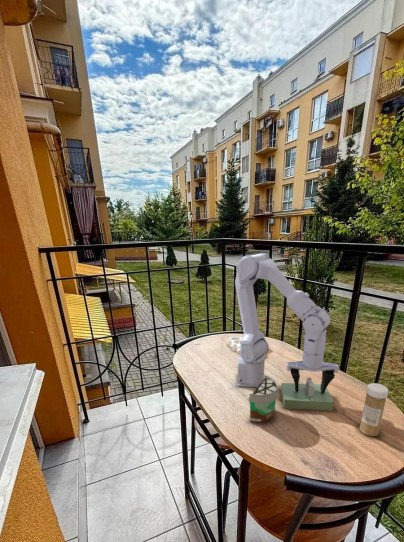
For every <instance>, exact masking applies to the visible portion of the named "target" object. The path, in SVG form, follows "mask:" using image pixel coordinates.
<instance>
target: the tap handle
mask: <svg viewBox="0 0 404 542" xmlns="http://www.w3.org/2000/svg"><path fill="white" fill-rule="evenodd" d="M305 384H306V390H307V394H308V396H310V397H313V394H314V384H315V383H314V382H313V380H312V377H310V376H309V377H306V379H305Z"/></svg>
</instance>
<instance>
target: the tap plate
mask: <svg viewBox="0 0 404 542" xmlns="http://www.w3.org/2000/svg"><path fill="white" fill-rule="evenodd" d="M313 384H314V394H313V397H310V396H308V394H307V390H306V383H299V388H298V392H296V391H295V383H294V382H280V396H281V400H282V405H283V408H284V409H294V410H307V411H308V410H309V411H326V412H327V411H328V412H333V411H334V405H335V402H334V399H333V397H332V395H331V394H330V391H329V389H328V387H327V388H326V390H325V393H322V392H321V384H315V383H313Z"/></svg>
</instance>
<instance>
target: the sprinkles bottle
mask: <svg viewBox="0 0 404 542" xmlns="http://www.w3.org/2000/svg"><path fill="white" fill-rule="evenodd" d="M365 392H366V393H365V394H366V395H365V400H364V404H363V410H362V414H361V422H360V425H359V430H360V431H361V432H362V434H364V435H366V436H370V437H376V436H378V435H379V434H380V429H381V425H382V421H383V416H384V409H385V406H386V401H387V397H388V395H389V388H388V387H387V386H385V385H384V384H380V383H375V382H372V383H368V384H367V386H366V390H365Z"/></svg>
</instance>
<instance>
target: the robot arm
mask: <svg viewBox="0 0 404 542" xmlns="http://www.w3.org/2000/svg"><path fill="white" fill-rule="evenodd" d="M235 267H236V277H235V280H234V285H235V291H236V296H237V302H238V308H239V314H240V320H241V326H242V331H243V335H242V339H241V342H240V344H241V348H240V354H239V355H240V357H238V358H237V372H236V379H237V386H238V387H245V388H246V387H247V388H257V387H258V385H259V384H260V383H261V382H262V381H263V380H264V376H265V362H266V358H265V357H266V353H268V351H269V349H270V347H269V342H268V341H267V340H266V336H265V334H264V333H263V332H262V331H261V329H260V324H259V323H260V322H259V316H258V311H257V305H256V299H255V293H254V291H255V290H254V284H255V283H256V282H257V280H258V279H259V280H267V281H268V282H269V283H270V284H271V285H272V286H274V288H276V289H277V290H278V291H279V292H280V293H281V294H282V295H283V296H284V297H285V298H286V305H287V306H288V307H289V309H290V310H291V311H292V312H293V313H294V314H295V315H296V316H297V317H298V318H299V319H300V320H301V321H302V328H303V330H304V331H305V332H304V339H303V341H304V342H303V350H302V351H303V352H302V360H298V361H287V362H286V371H287V372H290V375H291V377H292V379H293V383H295V391H296V392H298V388H299V384H300V378H301V375H300V371H307V372H321V383H320V385H321V392H322V393H325V390H326V388H327V389H328V386H329V384H330V383H332V381H333V380H334V379H335V376H336V375H335V373H336V374H338V373H339V369H340V367H339V365H338V364H337V363H330V362H325V361H324V358H325V357H324V356H325V349H326V342H327V331H328V330H327V328H328V327H329V325H330V324H331V321H332V320H331V315H330V314H329V311H327V310H326V309H323V308H322V307H320V305H317V304H315V302H314V301H313V300H312V298H310V294H309V293H308V292H304V291H303V290H298V289H296V288H295V287H294V286H293V284H292V283H291V282H290V281H289V279H287V278H286V276H285V275H284V274H283V272H282V271H281V270H280V269H279V268H278V266H277V264H276V262H275V260H273V259H271V258H270V256H269V255H268V254H267V253H264V252H259V253H257V254H251V255H244V256H243V257H242V258H240V260H239V261H238V262H237V264H236V266H235Z"/></svg>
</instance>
